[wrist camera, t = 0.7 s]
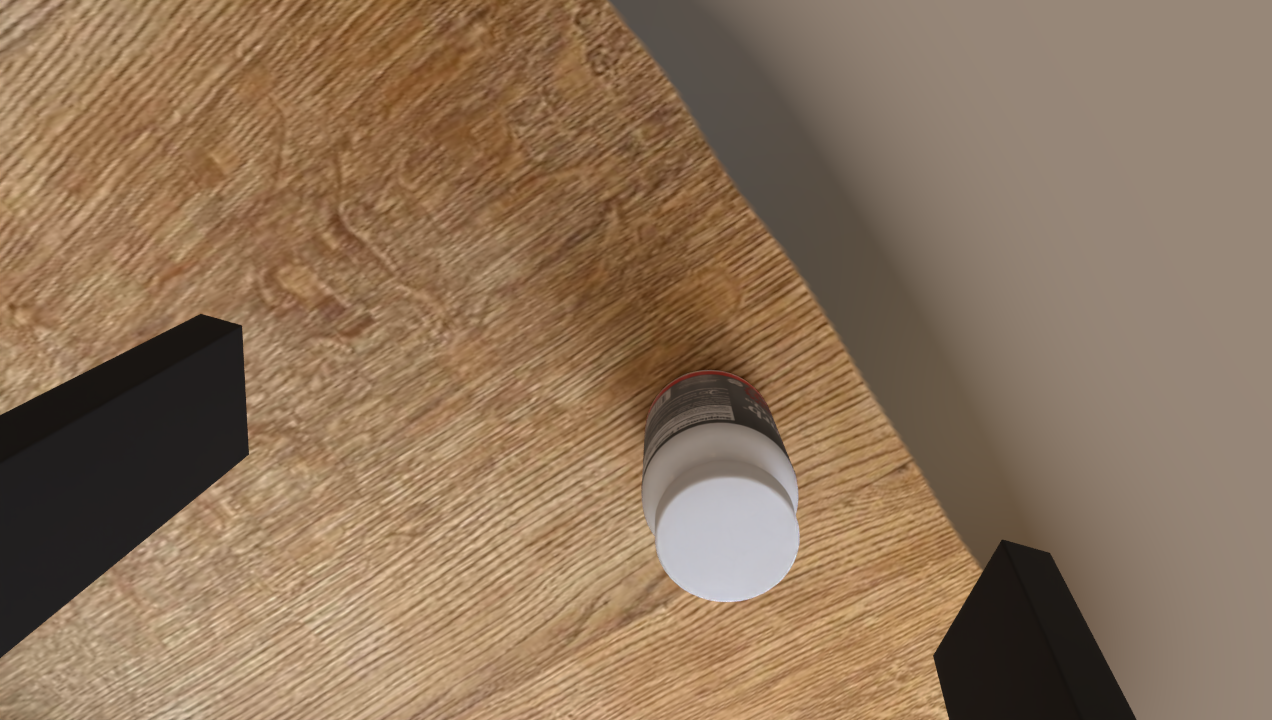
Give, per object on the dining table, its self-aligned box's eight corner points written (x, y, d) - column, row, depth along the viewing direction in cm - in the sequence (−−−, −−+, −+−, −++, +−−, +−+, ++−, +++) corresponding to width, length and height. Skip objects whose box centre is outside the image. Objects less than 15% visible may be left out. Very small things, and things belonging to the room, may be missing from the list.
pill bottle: (787, 458, 32) (839, 589, 23) (672, 498, 33) (676, 640, 24) (746, 347, 31) (783, 437, 21) (626, 391, 32) (611, 497, 22)
